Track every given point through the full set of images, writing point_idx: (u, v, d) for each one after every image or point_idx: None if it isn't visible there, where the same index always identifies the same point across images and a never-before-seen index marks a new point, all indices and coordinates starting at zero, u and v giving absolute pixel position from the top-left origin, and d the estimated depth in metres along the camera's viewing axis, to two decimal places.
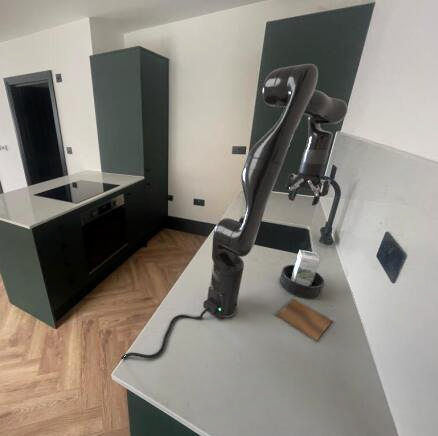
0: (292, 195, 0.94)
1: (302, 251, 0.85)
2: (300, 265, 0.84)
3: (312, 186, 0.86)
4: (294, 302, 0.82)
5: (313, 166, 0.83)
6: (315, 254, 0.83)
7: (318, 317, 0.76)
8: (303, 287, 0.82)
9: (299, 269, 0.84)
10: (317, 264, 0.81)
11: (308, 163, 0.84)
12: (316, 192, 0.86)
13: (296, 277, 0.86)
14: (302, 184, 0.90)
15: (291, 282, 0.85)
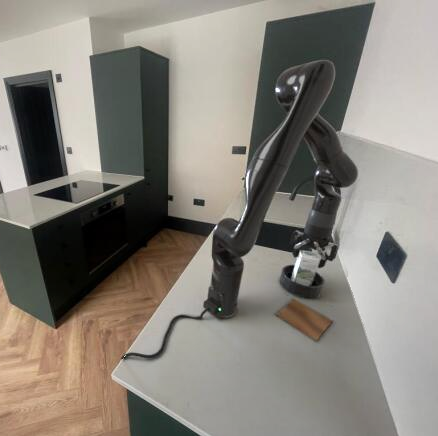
0: (297, 253, 0.87)
1: (302, 251, 0.85)
2: (300, 265, 0.84)
3: (319, 249, 0.79)
4: (294, 302, 0.82)
5: (320, 229, 0.76)
6: (315, 254, 0.83)
7: (318, 317, 0.76)
8: (303, 287, 0.82)
9: (299, 269, 0.84)
10: (317, 264, 0.81)
11: (315, 226, 0.76)
12: (323, 255, 0.79)
13: (296, 277, 0.86)
14: (308, 244, 0.82)
15: (291, 282, 0.85)
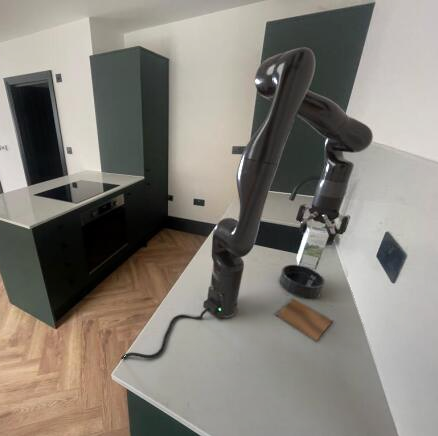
0: (304, 229, 0.82)
1: (309, 226, 0.81)
2: (307, 241, 0.79)
3: (328, 222, 0.74)
4: (294, 302, 0.82)
5: (330, 200, 0.71)
6: (323, 229, 0.79)
7: (318, 317, 0.76)
8: (303, 287, 0.82)
9: (306, 245, 0.80)
10: (326, 239, 0.76)
11: (324, 196, 0.72)
12: (332, 229, 0.74)
13: (303, 254, 0.81)
14: (316, 218, 0.78)
15: (291, 282, 0.85)
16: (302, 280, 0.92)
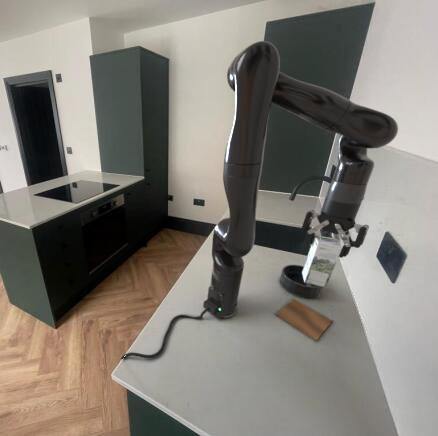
0: (311, 240, 0.70)
1: (318, 237, 0.68)
2: (316, 254, 0.66)
3: (341, 232, 0.62)
4: (294, 302, 0.82)
5: (345, 206, 0.59)
6: (335, 240, 0.66)
7: (318, 317, 0.76)
8: (303, 287, 0.82)
9: (314, 259, 0.67)
10: (338, 252, 0.64)
11: (337, 202, 0.59)
12: (346, 241, 0.62)
13: (310, 269, 0.69)
14: (326, 227, 0.65)
15: (291, 282, 0.85)
16: (302, 280, 0.92)
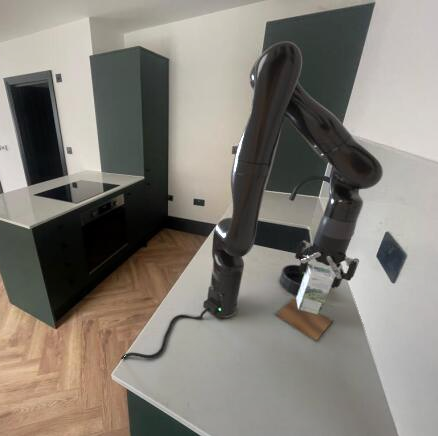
0: (304, 268, 0.71)
1: (311, 266, 0.70)
2: (308, 284, 0.68)
3: (333, 265, 0.63)
4: (294, 302, 0.82)
5: (335, 241, 0.60)
6: (327, 270, 0.68)
7: (318, 317, 0.76)
8: None
9: (307, 288, 0.69)
10: (330, 283, 0.65)
11: (328, 236, 0.61)
12: (338, 273, 0.63)
13: (303, 298, 0.70)
14: (319, 258, 0.67)
15: (291, 282, 0.85)
16: None
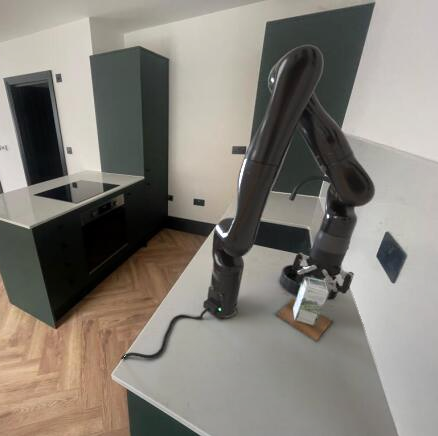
0: (301, 279, 0.73)
1: (307, 278, 0.72)
2: (304, 296, 0.70)
3: (328, 278, 0.65)
4: (294, 302, 0.82)
5: (331, 255, 0.62)
6: (323, 283, 0.70)
7: (318, 317, 0.76)
8: None
9: (303, 300, 0.71)
10: (325, 296, 0.67)
11: (324, 251, 0.63)
12: (334, 286, 0.65)
13: (300, 309, 0.72)
14: (314, 271, 0.68)
15: (291, 282, 0.85)
16: None
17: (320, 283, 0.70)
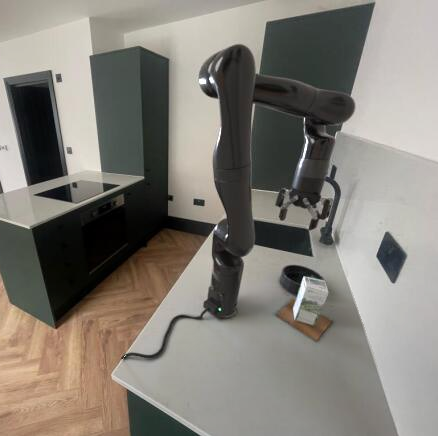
0: (284, 215, 0.75)
1: (307, 278, 0.72)
2: (304, 296, 0.70)
3: (309, 206, 0.67)
4: (294, 302, 0.82)
5: (310, 180, 0.64)
6: (323, 283, 0.70)
7: (318, 317, 0.76)
8: None
9: (303, 300, 0.71)
10: (325, 296, 0.67)
11: (303, 177, 0.64)
12: (314, 214, 0.67)
13: (300, 309, 0.72)
14: (296, 202, 0.70)
15: (291, 282, 0.85)
16: None
17: (320, 283, 0.70)
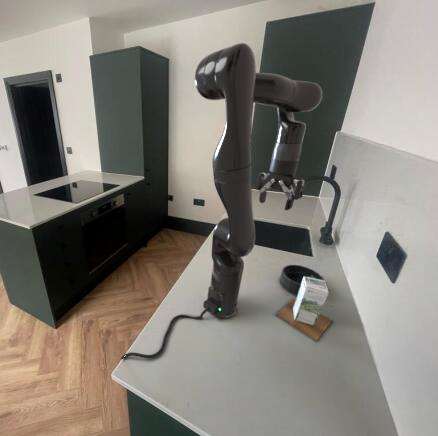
0: (263, 198, 0.81)
1: (307, 278, 0.72)
2: (304, 296, 0.70)
3: (284, 187, 0.73)
4: (294, 302, 0.82)
5: (284, 163, 0.70)
6: (323, 283, 0.70)
7: (318, 317, 0.76)
8: None
9: (303, 300, 0.71)
10: (325, 296, 0.67)
11: (278, 160, 0.70)
12: (289, 194, 0.73)
13: (300, 309, 0.72)
14: (273, 185, 0.76)
15: (291, 282, 0.85)
16: None
17: (320, 283, 0.70)
